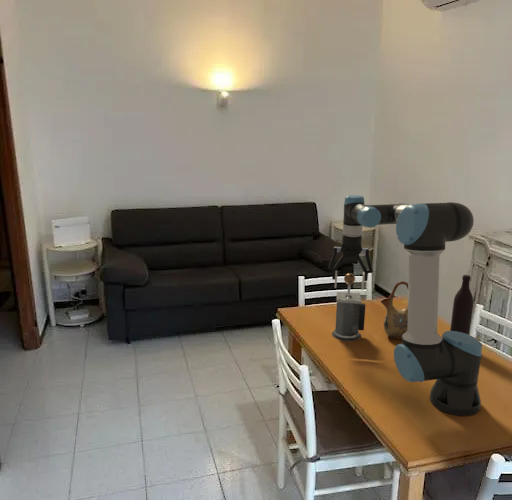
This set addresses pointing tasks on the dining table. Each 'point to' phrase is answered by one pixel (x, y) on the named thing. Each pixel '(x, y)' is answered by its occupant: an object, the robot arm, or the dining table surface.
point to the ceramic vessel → (395, 316)
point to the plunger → (349, 281)
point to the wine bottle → (462, 308)
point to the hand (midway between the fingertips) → (349, 287)
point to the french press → (349, 316)
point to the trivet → (346, 340)
